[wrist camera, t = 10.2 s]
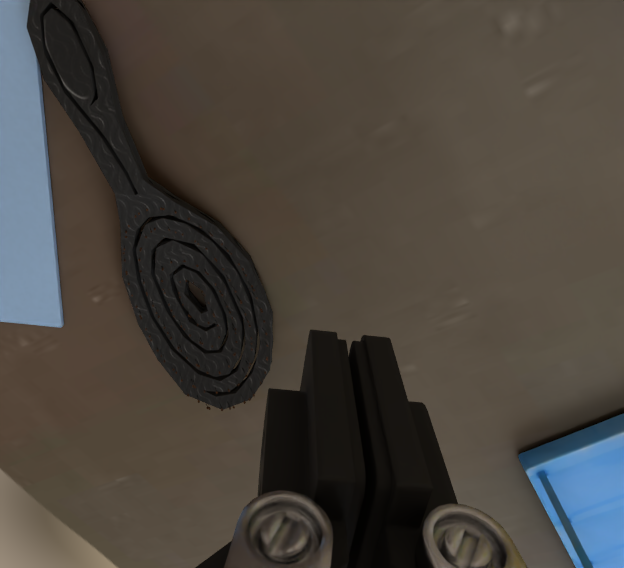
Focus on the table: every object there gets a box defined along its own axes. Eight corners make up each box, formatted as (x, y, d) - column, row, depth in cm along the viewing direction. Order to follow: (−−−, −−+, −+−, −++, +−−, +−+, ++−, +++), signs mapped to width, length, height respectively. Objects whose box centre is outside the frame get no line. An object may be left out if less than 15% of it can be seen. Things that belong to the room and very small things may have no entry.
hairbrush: (101, -59, 23) (295, 398, 32) (129, -44, 26) (297, 365, 36) (-62, 11, 24) (171, 432, 33) (-16, 16, 27) (185, 397, 37)
